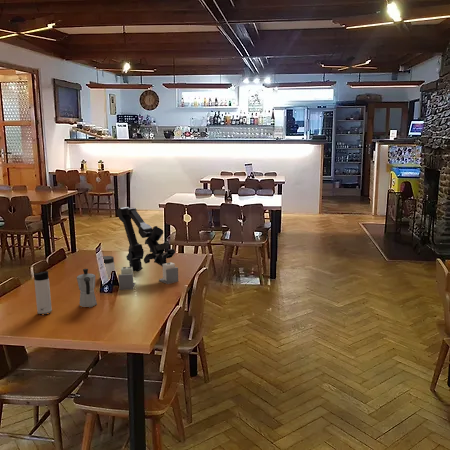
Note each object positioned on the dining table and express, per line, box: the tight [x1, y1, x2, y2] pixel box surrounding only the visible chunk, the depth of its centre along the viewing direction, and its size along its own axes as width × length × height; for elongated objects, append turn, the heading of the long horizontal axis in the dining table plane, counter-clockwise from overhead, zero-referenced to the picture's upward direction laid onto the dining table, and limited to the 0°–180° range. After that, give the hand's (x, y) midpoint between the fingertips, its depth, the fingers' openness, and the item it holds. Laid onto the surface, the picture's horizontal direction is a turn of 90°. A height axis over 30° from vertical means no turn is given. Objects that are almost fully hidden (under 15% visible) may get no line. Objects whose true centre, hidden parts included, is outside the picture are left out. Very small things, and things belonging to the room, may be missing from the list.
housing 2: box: [158, 266, 179, 285], centre depth 265 cm, size 8×7×8 cm
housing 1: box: [118, 273, 136, 291], centre depth 256 cm, size 8×7×8 cm
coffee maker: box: [76, 268, 98, 308], centre depth 228 cm, size 15×9×18 cm, turn 21°
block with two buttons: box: [120, 266, 134, 275], centre depth 258 cm, size 4×6×9 cm
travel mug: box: [33, 270, 53, 315], centre depth 219 cm, size 6×7×20 cm
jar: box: [102, 255, 116, 277], centre depth 273 cm, size 9×8×12 cm
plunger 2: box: [161, 261, 176, 281], centre depth 264 cm, size 4×6×9 cm
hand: (166, 268), depth 266 cm, fingers closed
